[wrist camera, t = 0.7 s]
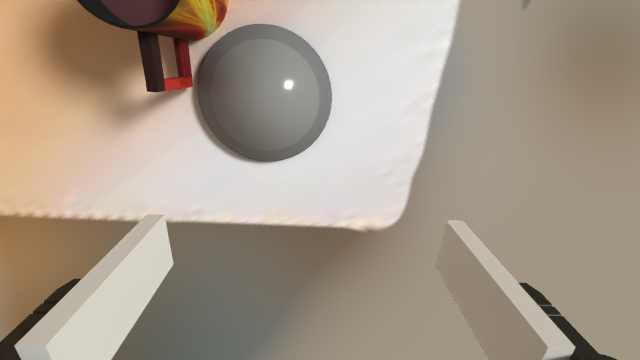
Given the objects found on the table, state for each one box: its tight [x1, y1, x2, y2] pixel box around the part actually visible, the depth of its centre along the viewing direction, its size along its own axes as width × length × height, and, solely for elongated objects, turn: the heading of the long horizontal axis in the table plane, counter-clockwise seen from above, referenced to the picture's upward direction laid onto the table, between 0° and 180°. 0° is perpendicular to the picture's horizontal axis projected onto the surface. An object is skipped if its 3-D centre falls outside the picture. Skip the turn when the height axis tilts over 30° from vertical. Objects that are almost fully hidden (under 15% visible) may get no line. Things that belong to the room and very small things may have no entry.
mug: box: [77, 0, 228, 92], centre depth 28 cm, size 10×14×12 cm
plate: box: [198, 24, 332, 161], centre depth 37 cm, size 16×16×1 cm
